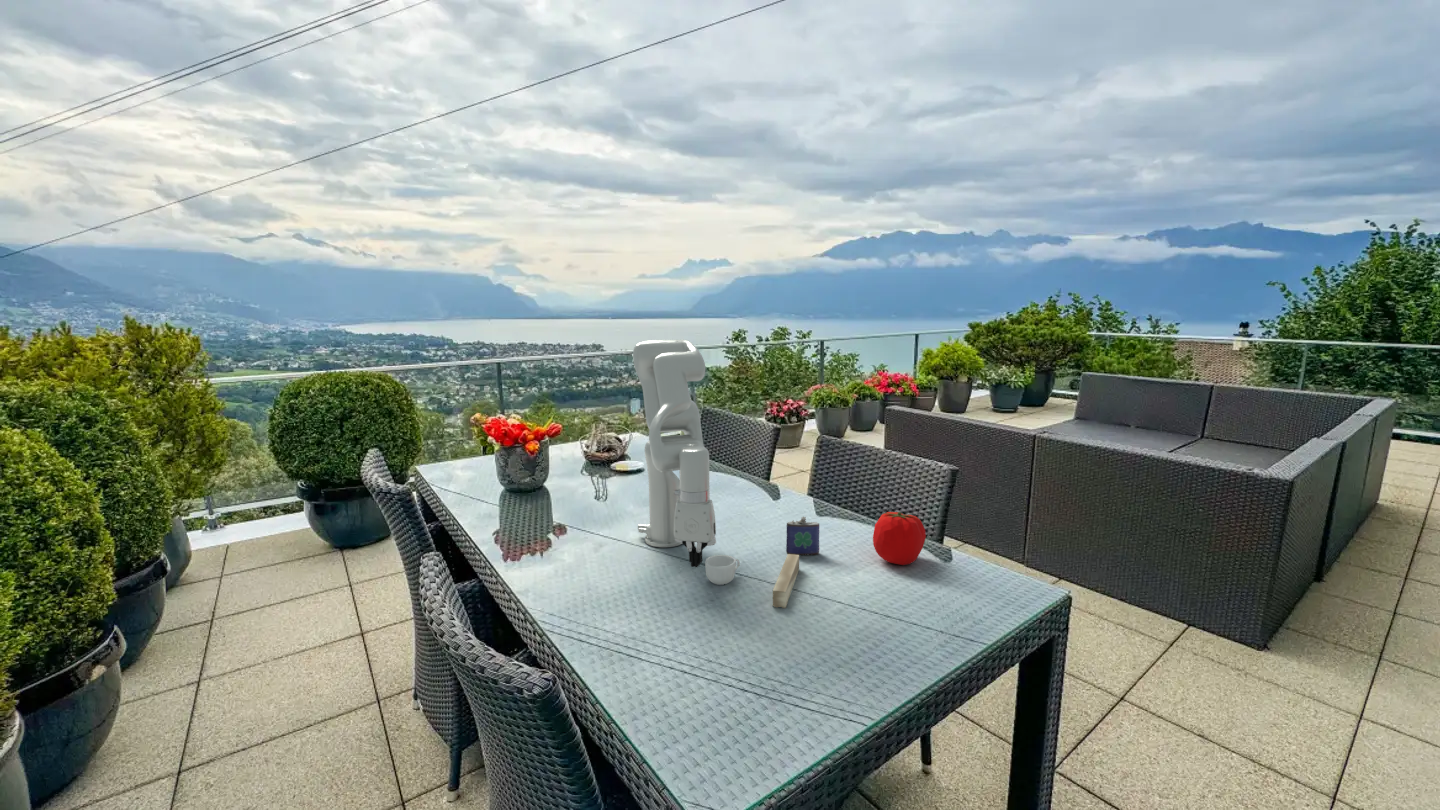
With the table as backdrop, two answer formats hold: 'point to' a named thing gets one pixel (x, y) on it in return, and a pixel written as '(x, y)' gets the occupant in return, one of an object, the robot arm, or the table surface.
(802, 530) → the clover hip flask
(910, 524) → the tomato
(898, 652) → the table surface
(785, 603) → the wooden bar
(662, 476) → the robot arm
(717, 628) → the table surface
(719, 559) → the teacup
